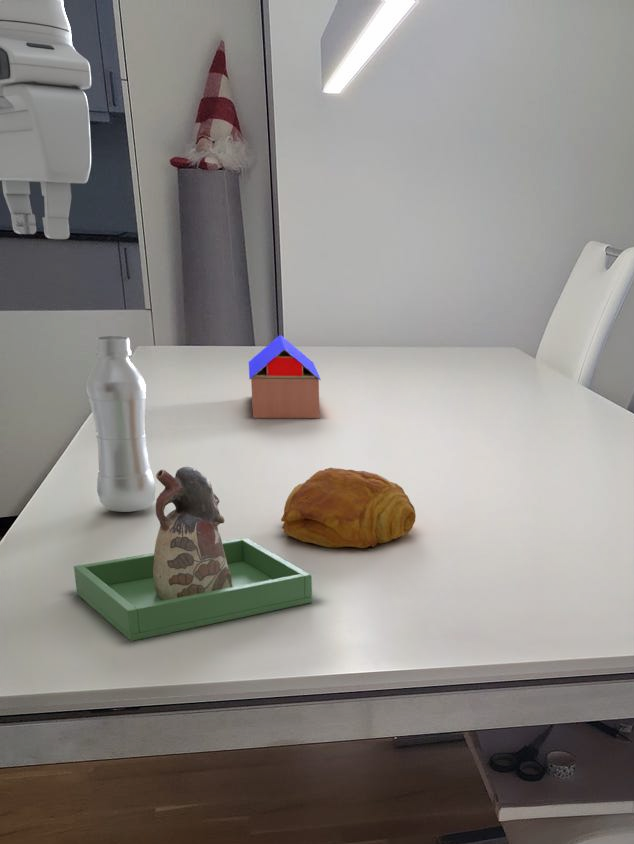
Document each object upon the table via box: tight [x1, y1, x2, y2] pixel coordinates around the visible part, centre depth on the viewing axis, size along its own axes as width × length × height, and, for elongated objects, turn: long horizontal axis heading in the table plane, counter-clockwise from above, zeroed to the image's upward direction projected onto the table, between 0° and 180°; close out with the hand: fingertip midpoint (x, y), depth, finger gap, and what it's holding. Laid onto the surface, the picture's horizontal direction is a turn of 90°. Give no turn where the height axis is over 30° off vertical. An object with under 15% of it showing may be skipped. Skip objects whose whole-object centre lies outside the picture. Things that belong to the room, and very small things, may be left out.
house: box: [248, 334, 321, 419], centre depth 186 cm, size 12×20×12 cm, turn 12°
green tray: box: [73, 537, 313, 642], centre depth 97 cm, size 18×14×3 cm
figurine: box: [153, 466, 233, 601], centre depth 95 cm, size 7×7×12 cm
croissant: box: [280, 467, 417, 549], centre depth 118 cm, size 14×16×8 cm
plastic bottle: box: [85, 335, 157, 513], centre depth 120 cm, size 6×7×20 cm
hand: (40, 236), depth 96 cm, fingers open, 8 cm apart
